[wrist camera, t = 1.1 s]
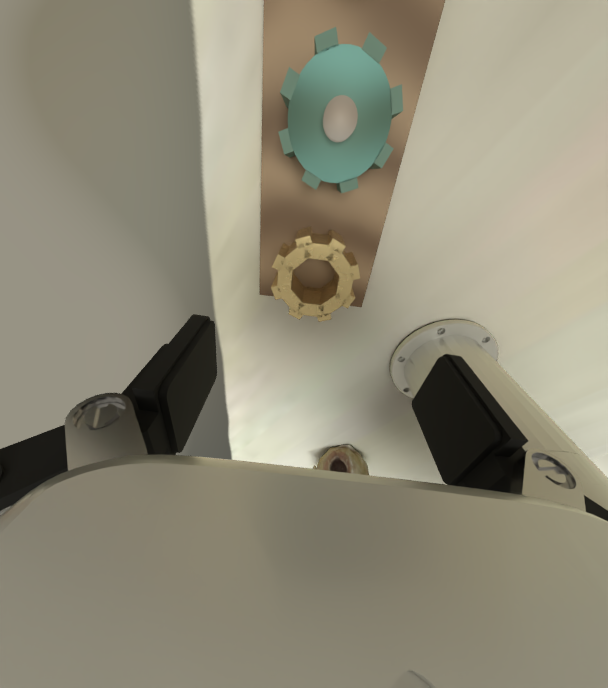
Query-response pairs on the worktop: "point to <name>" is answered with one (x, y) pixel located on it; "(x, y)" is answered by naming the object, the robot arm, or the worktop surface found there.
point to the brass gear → (311, 298)
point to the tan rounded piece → (343, 461)
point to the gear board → (287, 175)
